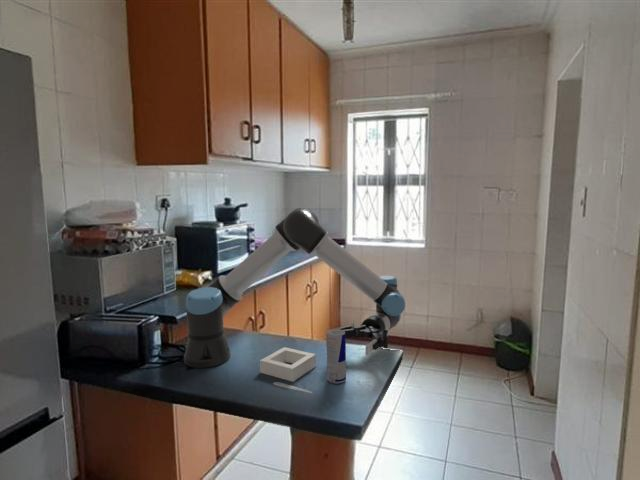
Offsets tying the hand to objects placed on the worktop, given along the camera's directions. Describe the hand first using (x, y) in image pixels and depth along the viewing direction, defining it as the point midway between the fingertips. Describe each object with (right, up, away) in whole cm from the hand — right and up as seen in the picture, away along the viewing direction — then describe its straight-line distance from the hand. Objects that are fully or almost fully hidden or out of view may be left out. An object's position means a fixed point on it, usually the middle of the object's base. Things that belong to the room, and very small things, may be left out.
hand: (346, 346), depth 126 cm
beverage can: (-3, -10, -3) cm, 10 cm away
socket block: (-18, -9, +5) cm, 21 cm away
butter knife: (-10, -11, -10) cm, 18 cm away
